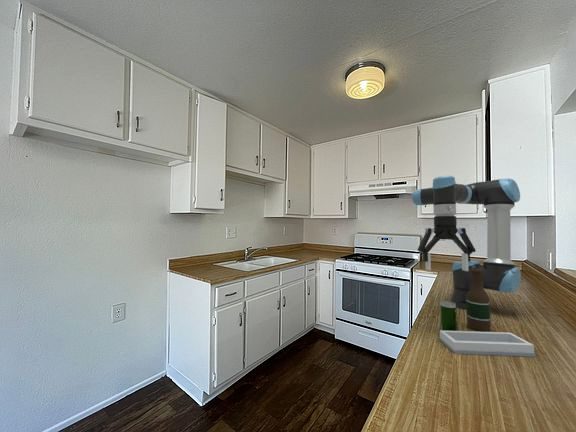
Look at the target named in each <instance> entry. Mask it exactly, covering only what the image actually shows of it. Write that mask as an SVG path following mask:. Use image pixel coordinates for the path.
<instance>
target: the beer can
mask: <svg viewBox="0 0 576 432" xmlns="http://www.w3.org/2000/svg"><path fill="white" fill-rule="evenodd" d="M439 307H440V308H439V309H440V310H439V311H440V313H439V314H440V330H442V331H459V330H458V310H457V308H458V307H456V303H454V302H450V300H441V301H440V304H439Z"/></svg>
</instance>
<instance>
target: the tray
mask: <svg viewBox="0 0 576 432" xmlns="http://www.w3.org/2000/svg"><path fill="white" fill-rule="evenodd" d="M438 339H439V341H440V342H442V344H444V345H445V346H446V348H448V349H449V350H451V351H452V352H453V354H456V355H458V354H460V355H477V356H478V355H479V356H481V355H485V356H501V357H502V356H505V357H530V358H536V353H535V345H534V344H533V343H531V342H529V341H527V340H525V339H524V338H522V337H519V336H518V335H516V334H514V333H512V332H503V331H501V332H498V331H489V332H480V331H474V330H473V331H471V330H458V331H442V330H441V329H440V330H439V338H438Z"/></svg>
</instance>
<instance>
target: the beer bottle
mask: <svg viewBox="0 0 576 432" xmlns="http://www.w3.org/2000/svg"><path fill="white" fill-rule="evenodd" d="M471 272H472V285H471V289H470V290H469V291H468V293H467V297H466V303H467V309H466V321H467V322H466V323H467V327H468V328H469V329H471V330H473V331H475V332H491V331H490V330H491V327H492V326H491V325H492V320H491V302H490V297H489V295H488V292H487V291H486V289H484V288H483V282H482V274H481V272H482V270H481V269H476V268H473V269H471Z"/></svg>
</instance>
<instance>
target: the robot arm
mask: <svg viewBox="0 0 576 432" xmlns="http://www.w3.org/2000/svg"><path fill="white" fill-rule="evenodd" d="M518 185H519V184H518V183H517V182H516V181H515V180H514V179H512V178H509V177H508V178H498V179H493V180H485V181H478V182H471V183H469V184H462V183H461V184H460V183H456V178H455V176H453V175H443V176H437V177H434V178H433V180H432V187H428V188H420V189H415V190H414V191H413V192H412V194H411V201H412V202H413V204H414V205H415V206H428V205H429V206H430V205H433V215H434V217H433V227H434V228H431V227H426V228H425V232H424V233H425V234H424V235H423V238H422V239H421V242H420V244H419V245H418V246H417V252H421V253H422V261H423V262H425V270H426V271H430V272H431V271H432V267H431V266H432V265H431V264H432V263H431V261H432V260H431V253H429V252H430V251H431V250H432V249H433V248H434V246H435V245H436V244H437V243H438V242H439V241H440V240H449V241H450V240H451V241H453V242H454V244H456V246H457V247H458V248H459V249H460V250H461V251H462V253H461V261H454V263H453V264H452V269H451V271H452V282H453V284H452V285H453V287H452V288H453V290H452V293H451V296H450V299H449V302H454V303H456V307H457V308H459V309H463V310H467V303H466V297H467V293H468V291H469V290H470V289H471V285H472V272H471V269H473V268H476V269H481V270H482V272H481V274H482V282H483V288H484V290H490V291H495V292H500V293H509V294H512V293H515V292H516V291H517V290H518V289H519V287H520V284H521V279H522V273H521V270H520V269H519V268H517V267H516V264H515V262H513V261H512V259H511V258H512V257H511V249H512V248H511V243H512V242H511V210H512V209H513V208H515V203H518V202H519V201H520V200H521V192H520V188H519V186H518ZM457 204H458V205H459V204H460V205H483V208H484V209H486V210H487V215H486V217H487V225H486V227H487V228H486V229H487V230H486V231H487V232H486V233H487V235H486V237H487V240H486V241H487V243H486V244H487V245H486V246H487V247H486V248H487V251H486V253H487V254H486V259H484V260H483V264H481V262H480V260H479V261H478V260H471V255H472V253H476V251H477V250H476V248H475V246H474V245H473V242H472V241H471V239H470V237H469V236H468V234H467V230H466V228H465V227H459V228H457V225H458V223H457V216H456V215H457ZM433 233H434V235H433V237H432V239H431V240H430V238H431V236H432V234H433ZM457 234H459V236H460V238H461V240H462V241H463V242H462V241H461V240H460V239H459V237H458V235H457ZM429 240H430V241H429Z"/></svg>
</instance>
